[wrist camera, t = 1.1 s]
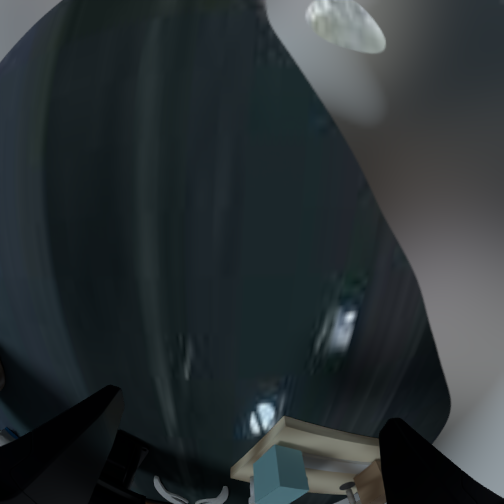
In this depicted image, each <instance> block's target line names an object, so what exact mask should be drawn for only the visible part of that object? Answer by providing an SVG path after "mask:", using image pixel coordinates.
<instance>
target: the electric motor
mask: <svg viewBox="0 0 504 504" xmlns="http://www.w3.org/2000/svg"><path fill="white" fill-rule="evenodd" d="M16 439H18V437H17V436H16V435H15V434H14V433H13V432H12V431H10V430H9V429H8V428H7V427H6V428H5V429H3V430H2V431H1V430H0V446H2V445H5V444H7V443H9V442H12V441H14V440H16Z"/></svg>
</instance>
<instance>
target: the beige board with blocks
mask: <svg viewBox="0 0 504 504" xmlns="http://www.w3.org/2000/svg"><path fill="white" fill-rule="evenodd" d="M275 444H276V445H279V446H283V447H287V448H292V449H296V450H300V451H301V452H302V457H303V462H304V466H305V471H306V476H307V481H308V485H309V491H308V492H313V493H325V494H343V495H347V497H348V500H349V503H350V504H384V503H386V496H385V490H384V484H383V478H382V472H381V461H380V448H379V439H378V438H372V437H367V436H362V435H357V434H352V433H347V432H343V431H339V430H334V429H330V428H326V427H322V426H318V425H315V424H311V423H307V422H304V421H300V420H297V419H294V418H290V417H287V416H283V417H282V418H281V419H280V420H279V421H278V423H277V424H276V425H275V426H274V427H273V428H272V429H271V430H270V431H269V432H268V433H267V434H266V435H265V436H264V437H263V438H262V439H261V440H260V441H259V442H258V443H257V444H256V445H255V446H254V447H253V448H252V449H251V450H250V451H249V452H248V453H247V454H246V455H245V456H243V457H242V458H241V459H240V460H239V461H238V462H237V463H236V464H235V465H234V466H233V467H232V468H231V477H230V478H233V479H237V480H241V481H245V482H250V476H254V474H253V464H254V463H255V462H256V461H257V460H258V459H259V458H261V457H262V456H263V455H264V454H265V453H266V452H267V451H268V450H269V449H270V448H271V447H272V446H274V445H275ZM356 492H358V494H359V497H360V500H359V501H358V502H356V501H355V498H354V495H353V494H355V493H356Z"/></svg>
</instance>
